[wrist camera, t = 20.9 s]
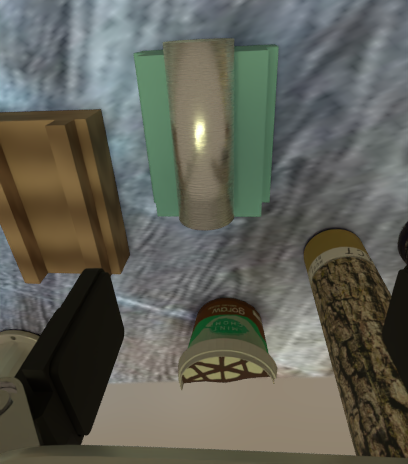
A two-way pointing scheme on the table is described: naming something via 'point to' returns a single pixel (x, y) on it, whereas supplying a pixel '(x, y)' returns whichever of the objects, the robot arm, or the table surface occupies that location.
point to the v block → (245, 127)
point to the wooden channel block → (59, 194)
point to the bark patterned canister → (358, 342)
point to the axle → (202, 129)
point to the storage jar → (403, 243)
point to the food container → (226, 345)
